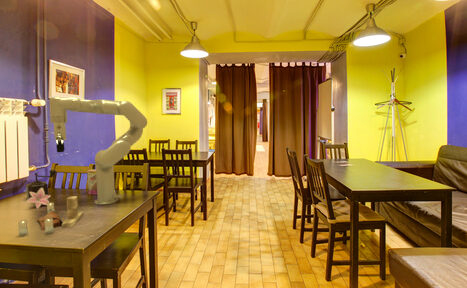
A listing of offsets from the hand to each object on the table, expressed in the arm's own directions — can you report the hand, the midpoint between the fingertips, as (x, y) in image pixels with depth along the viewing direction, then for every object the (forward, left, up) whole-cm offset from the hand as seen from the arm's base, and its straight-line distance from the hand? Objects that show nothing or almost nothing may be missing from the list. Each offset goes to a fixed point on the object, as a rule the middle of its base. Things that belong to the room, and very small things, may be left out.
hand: (60, 151), depth 146 cm
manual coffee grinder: (+23, -28, -33) cm, 49 cm away
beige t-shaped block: (-12, +22, -33) cm, 41 cm away
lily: (+16, -8, -33) cm, 37 cm away
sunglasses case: (-2, +22, -33) cm, 40 cm away
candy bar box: (-10, -28, -33) cm, 44 cm away
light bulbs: (-2, +22, -32) cm, 39 cm away
